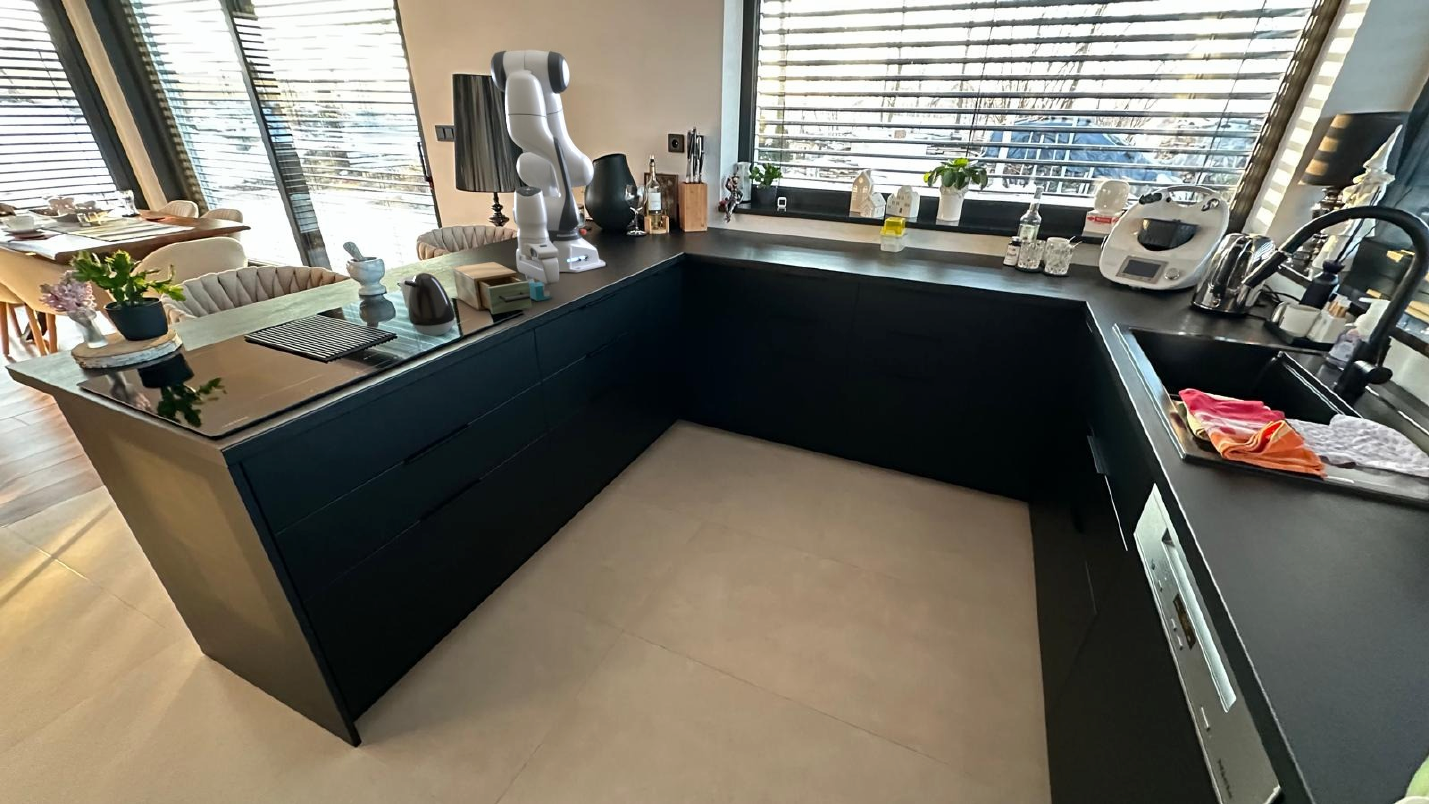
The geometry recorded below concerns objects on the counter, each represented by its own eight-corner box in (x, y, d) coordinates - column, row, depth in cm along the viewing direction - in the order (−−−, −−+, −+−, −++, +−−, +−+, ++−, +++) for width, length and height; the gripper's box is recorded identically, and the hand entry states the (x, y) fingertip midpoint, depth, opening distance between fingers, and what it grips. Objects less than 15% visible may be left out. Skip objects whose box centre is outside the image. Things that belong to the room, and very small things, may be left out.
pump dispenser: (403, 334, 139) (389, 274, 132) (439, 323, 147) (427, 265, 140) (430, 342, 135) (418, 280, 128) (466, 330, 143) (455, 271, 136)
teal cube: (543, 295, 173) (541, 281, 171) (550, 298, 170) (548, 284, 168) (530, 297, 170) (528, 283, 168) (536, 301, 167) (535, 286, 165)
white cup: (432, 309, 157) (425, 274, 152) (443, 316, 152) (436, 280, 147) (402, 315, 152) (394, 279, 147) (413, 322, 147) (404, 285, 142)
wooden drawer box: (520, 302, 165) (516, 272, 161) (478, 310, 158) (473, 278, 154) (498, 290, 175) (494, 261, 171) (457, 297, 168) (452, 267, 164)
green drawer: (539, 311, 156) (536, 285, 153) (500, 318, 149) (496, 292, 146) (509, 295, 169) (506, 271, 165) (471, 301, 162) (467, 276, 158)
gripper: (508, 241, 168) (514, 286, 174) (540, 254, 155) (545, 302, 161) (528, 239, 172) (533, 283, 178) (561, 251, 158) (565, 298, 165)
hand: (539, 292), depth 169 cm, fingers open, 7 cm apart
